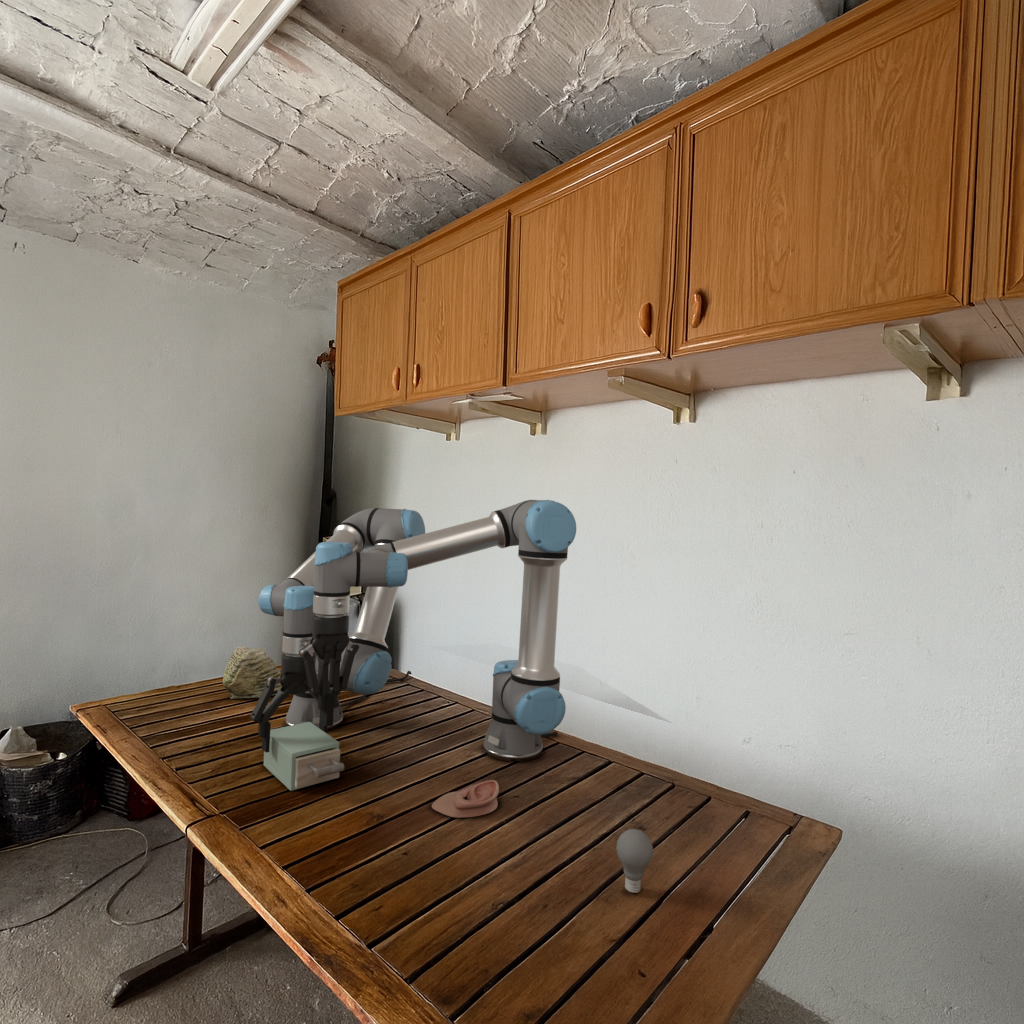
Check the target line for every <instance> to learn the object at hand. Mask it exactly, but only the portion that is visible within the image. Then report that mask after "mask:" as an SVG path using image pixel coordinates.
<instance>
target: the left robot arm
mask: <svg viewBox="0 0 1024 1024" xmlns="http://www.w3.org/2000/svg"><path fill="white" fill-rule="evenodd" d="M425 533H426V525H425V521H424V519H423V517H422V515H421V513H420V512H418V511H416V510H413V509H407V508H403V509H402V508H382V507H369V508H365V509H362V510H360V511H358V512H356V513H354V514H352V515H351V516H349V517H347V518H346V519H344V520H342V522H341V523H340V524H338V525H337V526H336V527H335V528H334V529H333V533H332V534H333V535H332V536H330V537H329V538H328V539H327V540H326V541H325V542H346V543H350V544H351V545H352V550H353V552H360V551H362V550H363V548H367V547H370V546H380V545H384V544H388V543H392V542H395V541H399V540H403V539H406V538H410V537H414V536H418V535H422V534H425ZM315 554H316V551H314V552H313V553H312V554H311V555H310V556H309V557H308V558H307V559H306V560H305V561H303V563H302V564H300V565H299V566H298V567H297V568H296V569H295V570H293V572H292V573H291V574H290V575H289V576H287V578H286V579H285V580H283V581H282V582H281V583H280V584H279V585H277V584H269V585H266V586H264V587H263V588H262V589H261V591H260V592H259V595H258V607H259V609H260V611H261V612H262V613H263V614H266V615H271V616H274V617H283V631H282V644H281V645H282V646H281V652H282V653H283V654H282V655H281V663H280V665H281V667H280V672H281V676H280V677H279V678H272V677H271V676H269V677H267V680H266V686H265V688H264V690H263V692H262V694H261V696H260V697H258V700H257V702H256V704H255V706H254V707H253V710H252V712H251V714H250V715H249V718H250V719H251V720H252V721H253V723H258V727H257V728H258V731H257V734H258V737H260V738H261V750H262V751H263V752H264V751H265V752H266V753H267V752H269V747H270V730H271V726H272V725H271V722H270V721H269V720H270V719H271V717H272V716H273V715H274V714H275V712H276V711H277V710H278V709H279V707H280V706H281V705H282V703H283V702H284V701H285V699H288V697H289V696H290V695H292V696H293V697H292V699H291V702H290V704H289V708H288V711H287V713H286V715H285V727H287V726H291V725H296V724H301V723H306V722H311V723H312V724H314V725H315V726H316V727H318V728H319V729H321V730H322V731H324V732H325V733H326V734H328V731H329V730H332V729H335V728H337V727H339V726H340V725H342V723H343V722H344V714H343V709H342V708H344V707H347V706H351V705H352V704H355V703H357V702H359V701H362V700H364V699H365V698H366V697H367V695H374V694H376V693H378V692H380V690H382V689H383V688H384V686H385V685H386V684H389V683H397V682H401V681H404V680H406V679H407V678H408V677H409V676H410V675H412V672H411V670H407V672H406V674H405V675H404V676H403V677H399V678H392V679H389V678H390V675H391V671H392V666H393V665H392V662H393V660H392V659H393V658H392V656H391V654H390V653H389V652H388V649H389V646H388V644H387V643H386V640H385V639H386V636H387V633H388V629H389V625H390V621H391V619H392V618H391V617H392V614H393V610H394V606H395V602H396V599H397V596H398V591H399V588H400V586H399V587H391V588H389V587H366V589H365V593H364V597H363V600H362V603H361V607H360V611H359V614H358V617H357V621H356V625H355V628H354V632H353V633H352V634H350V635H348V636H349V638H350V641H351V642H352V643H355V644H357V645H359V649H358V651H357V653H356V654H355V656H354V660H353V664H352V668H351V672H350V676H349V680H348V684H347V688H346V689H345V690H342V691H344V692H350V693H355V694H358V695H361V696H359V697H358V698H355V699H353V700H350V701H347V702H345V703H341V702H340V699H339V698H338V701H337V708H334V712H333V725H332V726H327V727H326V726H325V725H323V724H322V723H321V710H319V709H318V694H317V695H316V694H314V693H312V692H311V691H310V690H309V685H308V680H307V675H306V670H305V665H304V661H303V658H302V657H301V655H300V654H299V650H300V649H305V648H306V647H308V646H309V645H310V641H311V639H312V622H313V616H314V615H316V614H314V613H313V597H314V565H315ZM345 651H346V649H345V650H344V651H343V653H342V654H341V662H340V669H341V665H342V661H343V657H344V654H345ZM312 658H313V660H314V665H315V670H316V675H317V680H318V656H317V654H316V653H315V651H314V650H313V656H312ZM329 669H330V663H329ZM279 683H280V684H281V685H282V686H281V687H280V689H279V690H278V692H277V694H276V695H274V697H273V698H272V696H273V695H272V694H273V692H274V689H275V687H277V685H278V684H279ZM328 692H330V691H329V672H328ZM271 698H272V699H271Z"/></svg>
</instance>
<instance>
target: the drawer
mask: <svg viewBox="0 0 1024 1024" xmlns="http://www.w3.org/2000/svg"><path fill="white" fill-rule="evenodd" d="M343 771H345V764H344V762H341V749H340V748H339V749H338V748H337V749H333V750H331V749H327V750H323V751H318V752H314V753H310V754H306V755H302V756H298V757H296V768H295V787H296V788H297V789H296V790H299V789H298V788H300V789H303V788H306V786H307V787H310V786H314V785H317V784H316V783H318V784H321V783H324V781H325V782H328V781H327V780H329V781H331V779H332V780H336V779H338V778H340V773H341V772H343ZM335 778H336V779H335ZM320 782H321V783H320ZM313 784H314V785H313ZM309 785H310V786H309ZM302 787H303V788H302Z"/></svg>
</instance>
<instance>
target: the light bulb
mask: <svg viewBox="0 0 1024 1024" xmlns="http://www.w3.org/2000/svg"><path fill="white" fill-rule="evenodd" d="M615 849H616V854H617V857H618V859H619V861H620V863H621V865H622V867H623V873H624V874H623V875H624V876H625V878H624V888H625V890H627V891H628V892H630V893H634V894H635V893H639V892H640V891H641V889H642V887H641V886H642V879H643V877H644V875H645V871H646V868H647V867H648V866H649V864H650V863H651V861H652V859H653V855H654V847H653V843H652V841H651V838H649V836H648V835H647V834H646V833H645V832H643V831H642V830H641V829H636V828H629V829H627V830H625V831H623V832H622V833H621V834H620V835H619V837H618V839H617V841H616V847H615Z"/></svg>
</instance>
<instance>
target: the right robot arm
mask: <svg viewBox="0 0 1024 1024" xmlns="http://www.w3.org/2000/svg"><path fill="white" fill-rule="evenodd" d="M576 534H577V522H576V518H575V516H574V514H573V512H572V511H571V510H570V509H569V508H568V506H566V505H564V504H563V503H562V502H561V503H560V502H558V501H555V500H551V499H528V500H524V501H520V502H517V503H515V504H512V505H509V506H507V507H505V508H501V509H497V510H494V511H491V512H490V514H489V515H488V516H486V517H483V518H479V519H476V520H471V521H468V522H464V523H460V524H456V525H453V526H449V527H445V528H441V529H437V530H433V531H429V532H425V534H422V535H418V536H414V537H410V538H406V539H403V540H399V541H395V542H392V543H388V544H384V545H380V546H366V547H364V549H361V550H360V551H361V552H360V551H358V552H353V550H352V545H351V544H350V543H346V542H326V541H322V542H319V543H318V544H317V545H316V547H315V552H316V554H315V565H314V597H313V613H314V614H316V615H314V616H313V622H312V639H311V641H310V645H309V646H308V647H306V648H305V649H300V650H299V654H300V655H301V657H302V658H303V661H304V665H305V670H306V675H307V680H308V685H309V690H310V691H311V692H312V693H314V694H316V695H317V694H318V709H319V710H321V723H322V724H323V725H325V726H326V727H327V726H332V725H333V712H334V708H337V701H338V699H339V695H340V694H341V692H342V691H343V690H345V689H346V688H347V684H348V680H349V676H350V672H351V668H352V664H353V660H354V656H355V654H356V653H357V651H358V649H359V645H357V644H355V643H352V642H351V641H350V638H349V636H350V635H349V630H350V616H349V614H348V613H350V603H351V602H350V601H351V588H353V587H354V588H358V587H366V588H367V587H389V588H391V587H399V588H400V587H404V586H405V585H406V584H407V581H408V574H409V573H408V572H409V570H413V569H417V568H421V567H425V566H428V565H431V564H435V563H439V562H442V561H446V560H450V559H453V558H458V557H461V556H465V555H469V554H472V553H475V552H479V551H483V550H487V549H491V548H494V547H498V548H500V549H505V548H509V547H515V546H518V554H517V557H518V558H519V559H520V560H521V562H522V563H523V574H522V575H523V576H522V592H521V593H522V594H521V609H520V610H521V611H520V628H519V642H518V645H519V646H518V659H510V660H509V659H505V660H500V661H497V662H495V664H494V666H493V673H492V677H493V678H492V679H493V680H492V698H491V699H492V700H491V701H492V702H491V719H490V721H489V725H488V728H487V731H486V733H485V736H484V739H483V742H482V743H483V747H482V750H483V752H484V753H485V754H486V756H489V757H490V758H492V759H495V760H499V761H502V762H511V763H522V762H528V761H532V760H536V759H538V758H539V757H540V756H542V754H543V747H544V745H543V740H542V739H544V738H551V737H555V736H558V731H554V730H555V729H556V728H557V727H558V726H560V725H561V724H562V722H563V720H564V717H565V714H566V708H567V707H566V706H567V705H566V701H565V698H564V696H563V694H562V693H561V692H560V687H561V686H560V685H561V673H560V671H559V669H557V667H556V666H555V660H556V645H557V630H558V629H557V628H558V627H557V626H558V612H559V611H558V610H559V594H560V593H559V592H560V580H561V579H560V577H561V566H562V565H563V564H564V563H565V562H566V561H567V560H568V553H569V547H570V546H571V545H572V544H573V542H574V540H575V538H576ZM345 649H346V651H345V654H344V657H343V661H342V665H341V669H340V662H341V654H342V653H343V651H344V650H345ZM313 650H314V651H315V653H316V654H317V656H318V680H317V675H316V670H315V665H314V660H313V658H312V656H313ZM329 663H330V669H329ZM328 672H329V691H330V692H328Z"/></svg>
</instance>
